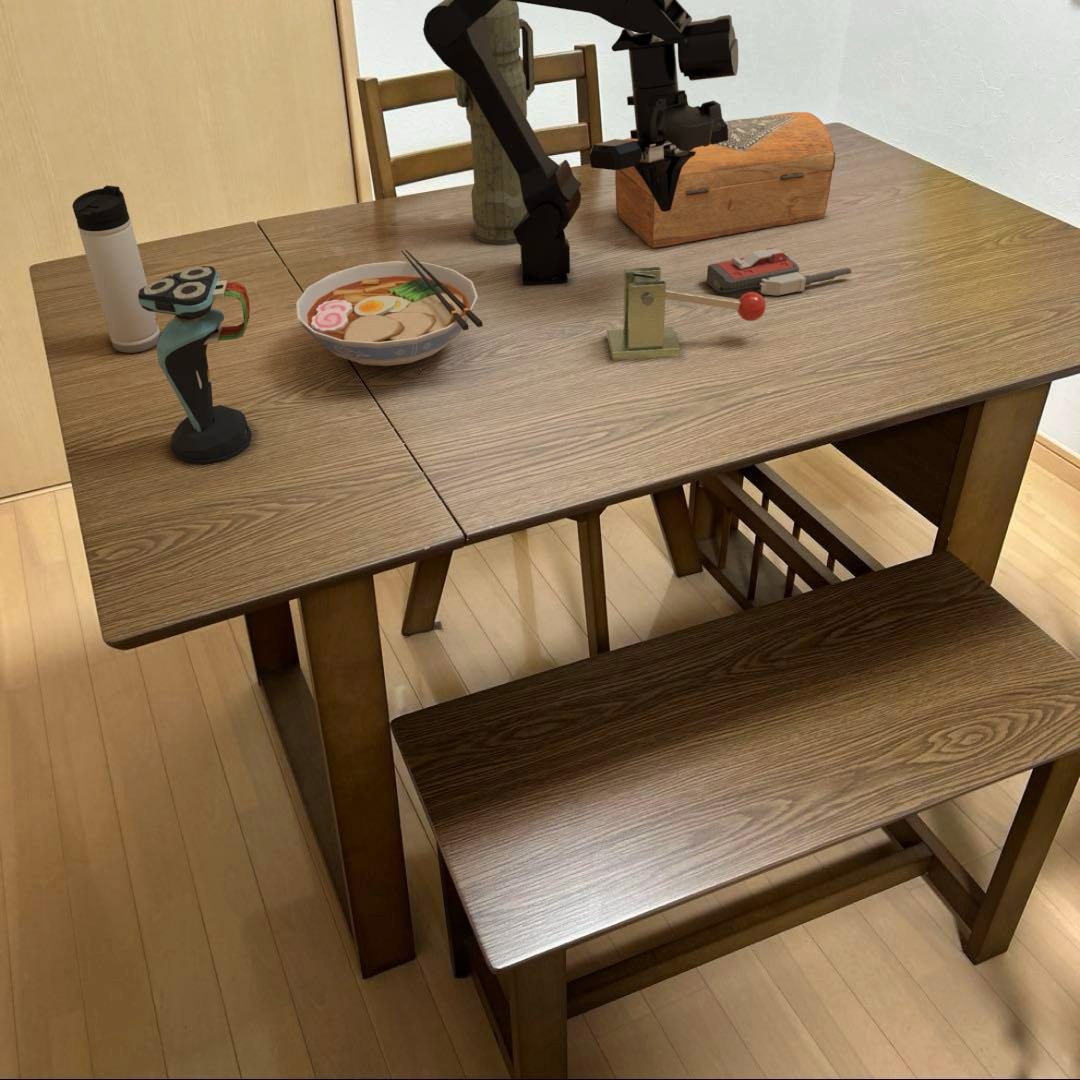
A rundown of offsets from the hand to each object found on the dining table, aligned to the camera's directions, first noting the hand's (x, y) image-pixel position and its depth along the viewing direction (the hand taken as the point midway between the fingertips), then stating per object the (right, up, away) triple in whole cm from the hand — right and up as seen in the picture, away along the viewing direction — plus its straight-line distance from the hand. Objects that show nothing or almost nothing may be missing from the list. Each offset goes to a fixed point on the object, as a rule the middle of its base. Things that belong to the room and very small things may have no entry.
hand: (666, 210), depth 149 cm
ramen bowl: (-36, -19, -3) cm, 41 cm away
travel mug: (-70, -17, +1) cm, 72 cm away
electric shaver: (-53, -32, -19) cm, 65 cm away
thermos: (-22, +4, +26) cm, 35 cm away
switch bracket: (-3, -19, -4) cm, 19 cm away
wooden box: (+11, +8, +29) cm, 32 cm away
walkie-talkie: (+16, -8, +9) cm, 20 cm away
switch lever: (+3, -15, -7) cm, 16 cm away
